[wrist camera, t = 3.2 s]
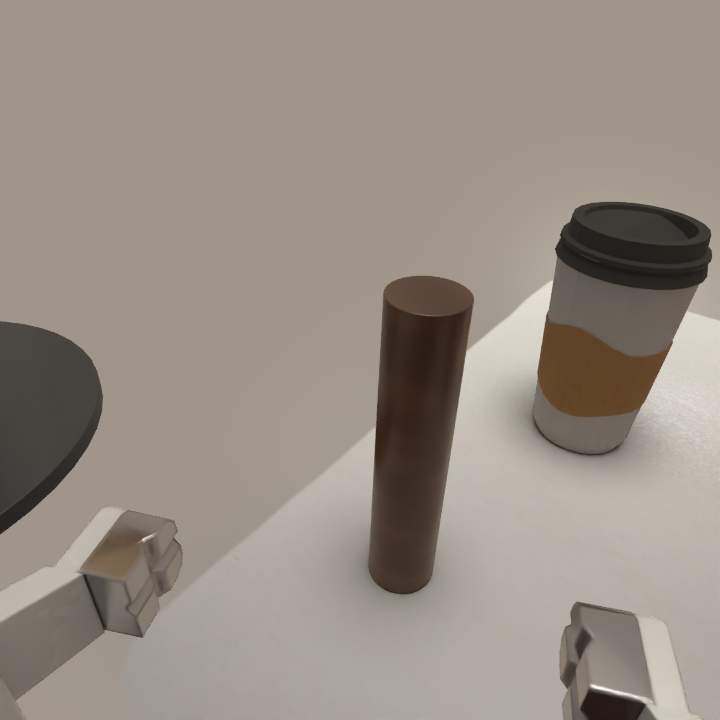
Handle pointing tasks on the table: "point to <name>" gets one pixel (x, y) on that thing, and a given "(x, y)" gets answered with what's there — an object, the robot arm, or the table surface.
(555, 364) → the coffee cup
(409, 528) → the brown cylinder
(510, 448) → the table surface
